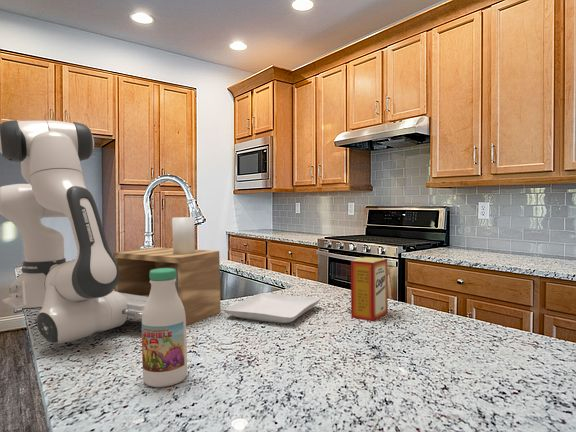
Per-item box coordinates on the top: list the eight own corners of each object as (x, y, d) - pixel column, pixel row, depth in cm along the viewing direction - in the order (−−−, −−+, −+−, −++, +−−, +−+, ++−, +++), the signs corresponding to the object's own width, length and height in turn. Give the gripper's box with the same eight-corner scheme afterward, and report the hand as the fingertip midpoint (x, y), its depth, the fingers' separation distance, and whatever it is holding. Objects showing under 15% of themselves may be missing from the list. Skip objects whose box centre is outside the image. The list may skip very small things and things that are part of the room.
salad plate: (222, 320, 107) (222, 308, 107) (260, 302, 126) (260, 291, 126) (292, 330, 98) (292, 316, 98) (322, 309, 117) (321, 297, 117)
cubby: (115, 313, 114) (113, 252, 113) (155, 302, 127) (153, 247, 126) (183, 327, 101) (181, 257, 100) (220, 312, 114) (219, 251, 113)
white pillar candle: (168, 253, 108) (167, 217, 108) (183, 251, 114) (183, 217, 113) (184, 254, 106) (183, 218, 105) (199, 252, 111) (198, 217, 110)
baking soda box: (366, 309, 114) (366, 255, 114) (387, 313, 111) (387, 257, 110) (351, 317, 107) (350, 259, 106) (373, 321, 103) (373, 261, 102)
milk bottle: (149, 370, 75) (146, 266, 74) (190, 368, 75) (188, 265, 75) (137, 389, 67) (134, 274, 66) (183, 387, 68) (180, 272, 67)
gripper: (138, 302, 92) (181, 290, 104) (85, 293, 102) (130, 283, 114) (139, 328, 92) (182, 313, 104) (86, 317, 102) (130, 305, 114)
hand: (154, 298), depth 109 cm, fingers closed, pressing on foam cup
